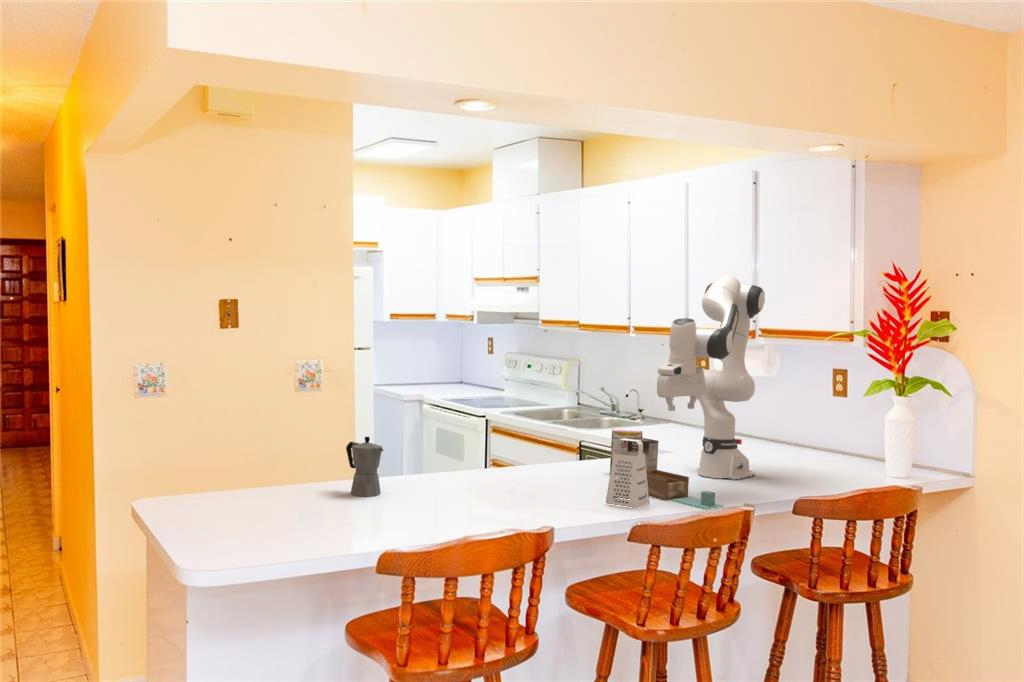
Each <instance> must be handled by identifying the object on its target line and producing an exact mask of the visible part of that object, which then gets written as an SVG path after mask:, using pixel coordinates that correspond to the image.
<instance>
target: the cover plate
mask: <svg viewBox="0 0 1024 682" xmlns="http://www.w3.org/2000/svg"><path fill="white" fill-rule="evenodd" d="M671 502H674V503H678V504H681V505H685V506H689V507H693V506H694V507H693V508H697V509H700V508H701V510H704V509H706V510H705V511H708V510H707V509H710V510H712V509H711V508H716V509H718V508H717V507H723V506H725V505H723V504H720V503H716V492H714V491H709V490H705V491H701V492H700V498H695V497H692V496H688V497H683V498H676V499H671ZM723 508H724V507H723Z"/></svg>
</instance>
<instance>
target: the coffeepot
mask: <svg viewBox="0 0 1024 682" xmlns="http://www.w3.org/2000/svg"><path fill="white" fill-rule="evenodd" d="M370 439H371V437H370V436H365V437H364V442H362V443H361V442H355V441H350V442H348V443H347V445H346V447H345V451H346V454H347V458H348V463H349V467H350V468H352V469H355V473H354V474H353V480H352V485H351V489H350V494H351V495H352V496H354V497H359V498H361V497H362V498H371V497H377V496H379V495H380V494H381V487H380V486H381V485H380V479H379V474H378V468H379V467H380V461H381V457H382V456H381V455H382V452H383V451H384V448H383V445H382V446H381V445H380V444H376V443H373V442H370Z"/></svg>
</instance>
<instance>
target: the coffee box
mask: <svg viewBox="0 0 1024 682" xmlns="http://www.w3.org/2000/svg"><path fill="white" fill-rule="evenodd" d="M629 439H634V440H641V442H642V443H643V453H645V462H646V470H649V469H656V470H658V457H659V440H658V439H657V440H656V439H650V438H646V437H642V438H640V437H636V438H629ZM638 450H639V445H638V443H637V442H636V441H628V447H627V451H628V452H637V453H638Z"/></svg>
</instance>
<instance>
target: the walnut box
mask: <svg viewBox="0 0 1024 682" xmlns="http://www.w3.org/2000/svg"><path fill="white" fill-rule="evenodd" d="M646 473H647V484H648V495H649V497H650V496H652V497H651V498H654V497H656V498H655V499H658V498H659V500H663V501H667V500H672V499H679V498H686V497H689V483H690V482H689V480H690V479H689V478H690V477H689V476H686V475H682V474H678V473H674V472H668V471H663V470H659V469H657V470H656V469H649V470H646Z"/></svg>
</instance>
